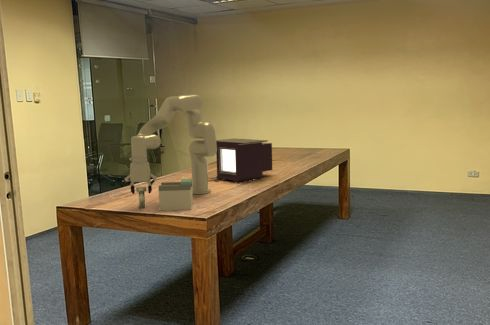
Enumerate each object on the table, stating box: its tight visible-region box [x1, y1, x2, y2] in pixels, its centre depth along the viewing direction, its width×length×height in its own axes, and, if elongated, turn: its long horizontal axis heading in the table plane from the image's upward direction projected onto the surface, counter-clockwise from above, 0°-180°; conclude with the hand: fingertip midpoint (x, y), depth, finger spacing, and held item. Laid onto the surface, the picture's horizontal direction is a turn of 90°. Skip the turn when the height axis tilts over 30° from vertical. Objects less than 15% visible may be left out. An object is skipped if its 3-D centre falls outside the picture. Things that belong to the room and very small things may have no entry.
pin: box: [135, 186, 147, 210], centre depth 238 cm, size 5×5×11 cm
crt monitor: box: [215, 138, 273, 184], centre depth 322 cm, size 35×35×27 cm
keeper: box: [179, 178, 192, 185], centre depth 237 cm, size 9×5×2 cm, turn 2°
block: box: [157, 181, 194, 211], centre depth 238 cm, size 12×16×12 cm
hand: (141, 193), depth 238 cm, fingers open, 7 cm apart
